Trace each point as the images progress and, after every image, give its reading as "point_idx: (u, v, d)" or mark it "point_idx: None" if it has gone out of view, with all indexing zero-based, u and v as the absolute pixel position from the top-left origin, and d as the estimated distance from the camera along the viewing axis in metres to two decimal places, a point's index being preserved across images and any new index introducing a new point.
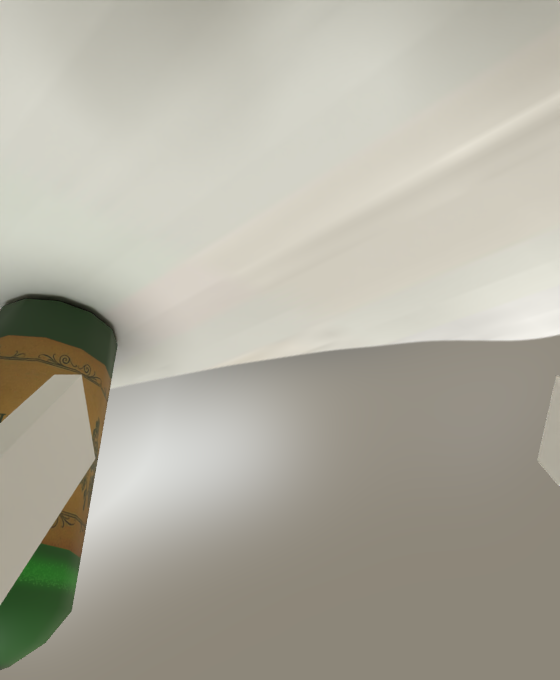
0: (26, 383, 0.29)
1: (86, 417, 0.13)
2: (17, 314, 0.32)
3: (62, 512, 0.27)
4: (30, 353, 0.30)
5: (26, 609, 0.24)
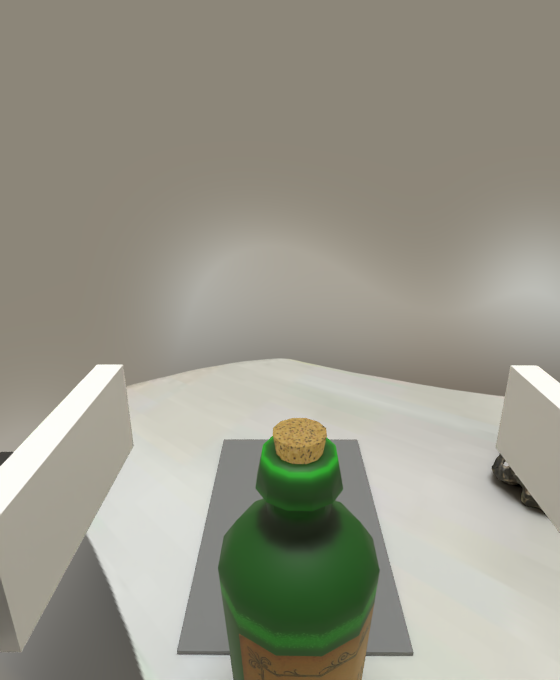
0: None
1: (126, 405, 0.14)
2: None
3: (334, 667, 0.29)
4: None
5: (349, 604, 0.27)
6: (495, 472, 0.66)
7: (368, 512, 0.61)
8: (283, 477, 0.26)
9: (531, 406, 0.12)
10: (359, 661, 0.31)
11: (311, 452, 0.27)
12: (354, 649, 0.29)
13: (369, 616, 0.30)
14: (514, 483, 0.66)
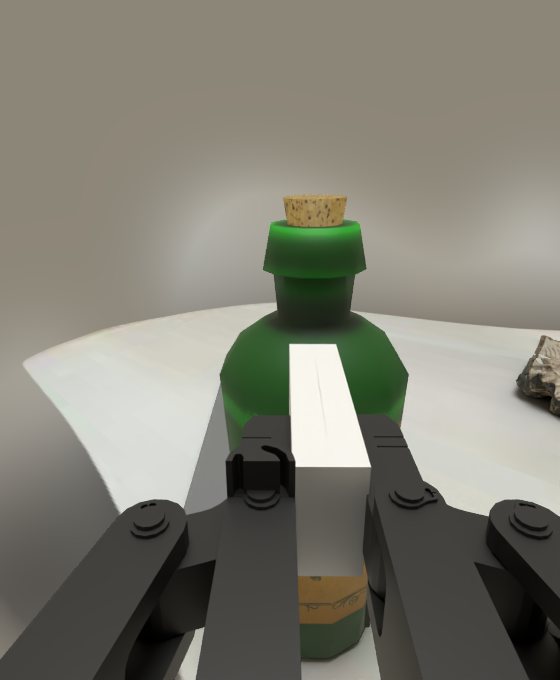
0: None
1: None
2: None
3: None
4: None
5: (375, 393, 0.23)
6: (520, 383, 0.61)
7: None
8: (297, 236, 0.22)
9: None
10: None
11: (329, 210, 0.23)
12: None
13: None
14: (541, 395, 0.61)
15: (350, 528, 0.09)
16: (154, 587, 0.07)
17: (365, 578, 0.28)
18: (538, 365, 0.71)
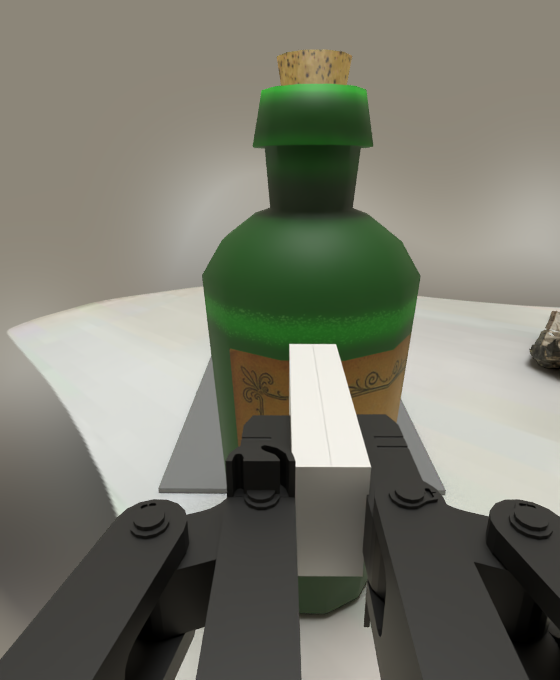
0: None
1: None
2: None
3: (360, 393, 0.21)
4: None
5: (382, 284, 0.19)
6: (535, 352, 0.57)
7: None
8: (292, 94, 0.19)
9: None
10: (390, 414, 0.23)
11: (331, 66, 0.19)
12: (386, 372, 0.21)
13: (405, 346, 0.23)
14: (556, 365, 0.57)
15: (350, 528, 0.09)
16: (154, 587, 0.07)
17: None
18: (551, 338, 0.67)
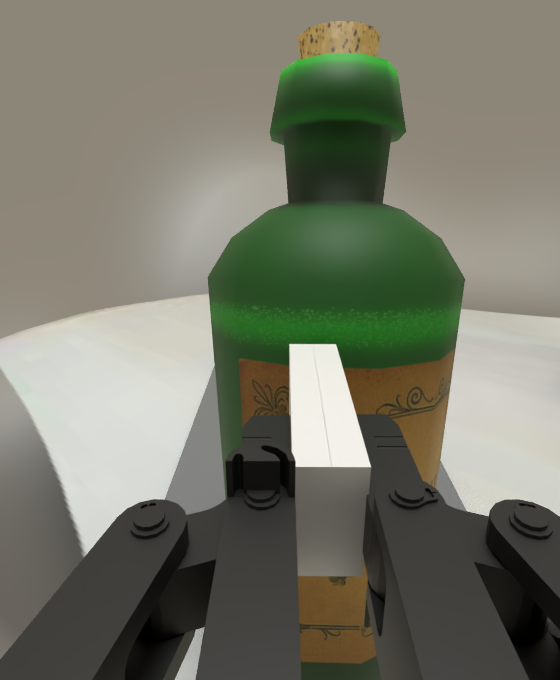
0: None
1: None
2: None
3: (401, 414, 0.17)
4: None
5: (427, 275, 0.16)
6: None
7: None
8: (316, 65, 0.17)
9: None
10: (434, 448, 0.19)
11: (359, 40, 0.17)
12: (432, 389, 0.17)
13: (449, 362, 0.19)
14: None
15: (350, 528, 0.09)
16: (154, 587, 0.07)
17: None
18: None
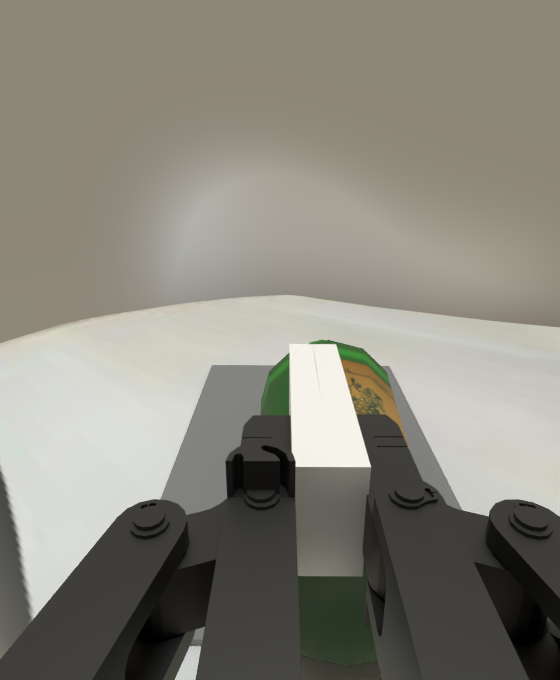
0: None
1: None
2: None
3: (380, 387, 0.32)
4: None
5: None
6: None
7: (416, 443, 0.42)
8: (318, 341, 0.44)
9: None
10: None
11: None
12: (391, 394, 0.33)
13: None
14: None
15: (350, 528, 0.09)
16: (154, 587, 0.07)
17: None
18: None
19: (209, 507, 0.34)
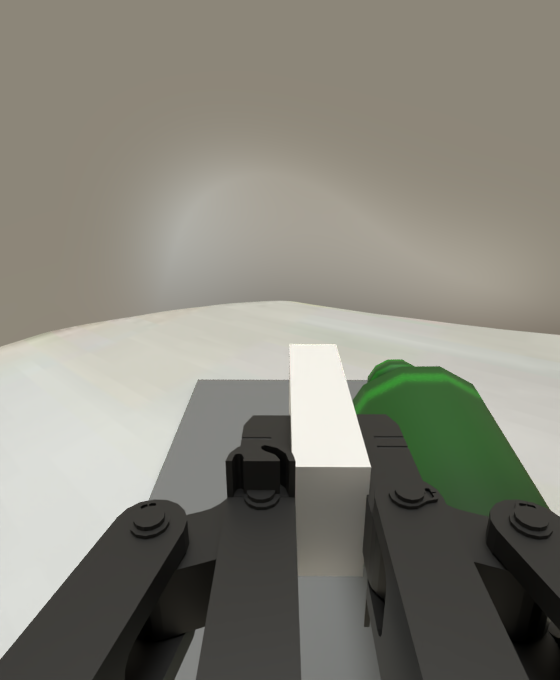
0: None
1: None
2: None
3: None
4: None
5: None
6: None
7: None
8: None
9: None
10: None
11: None
12: None
13: None
14: None
15: (350, 528, 0.09)
16: (154, 587, 0.07)
17: None
18: None
19: None
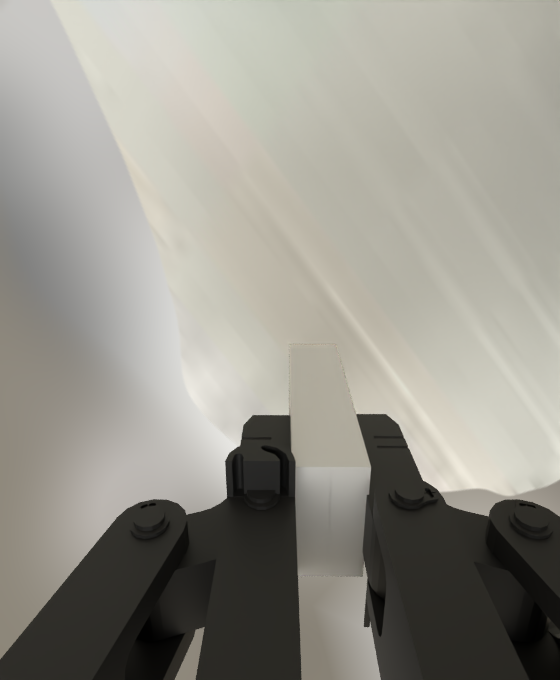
0: None
1: None
2: None
3: None
4: None
5: None
6: None
7: None
8: None
9: None
10: None
11: None
12: None
13: None
14: None
15: (350, 528, 0.09)
16: (154, 587, 0.07)
17: None
18: None
19: None
